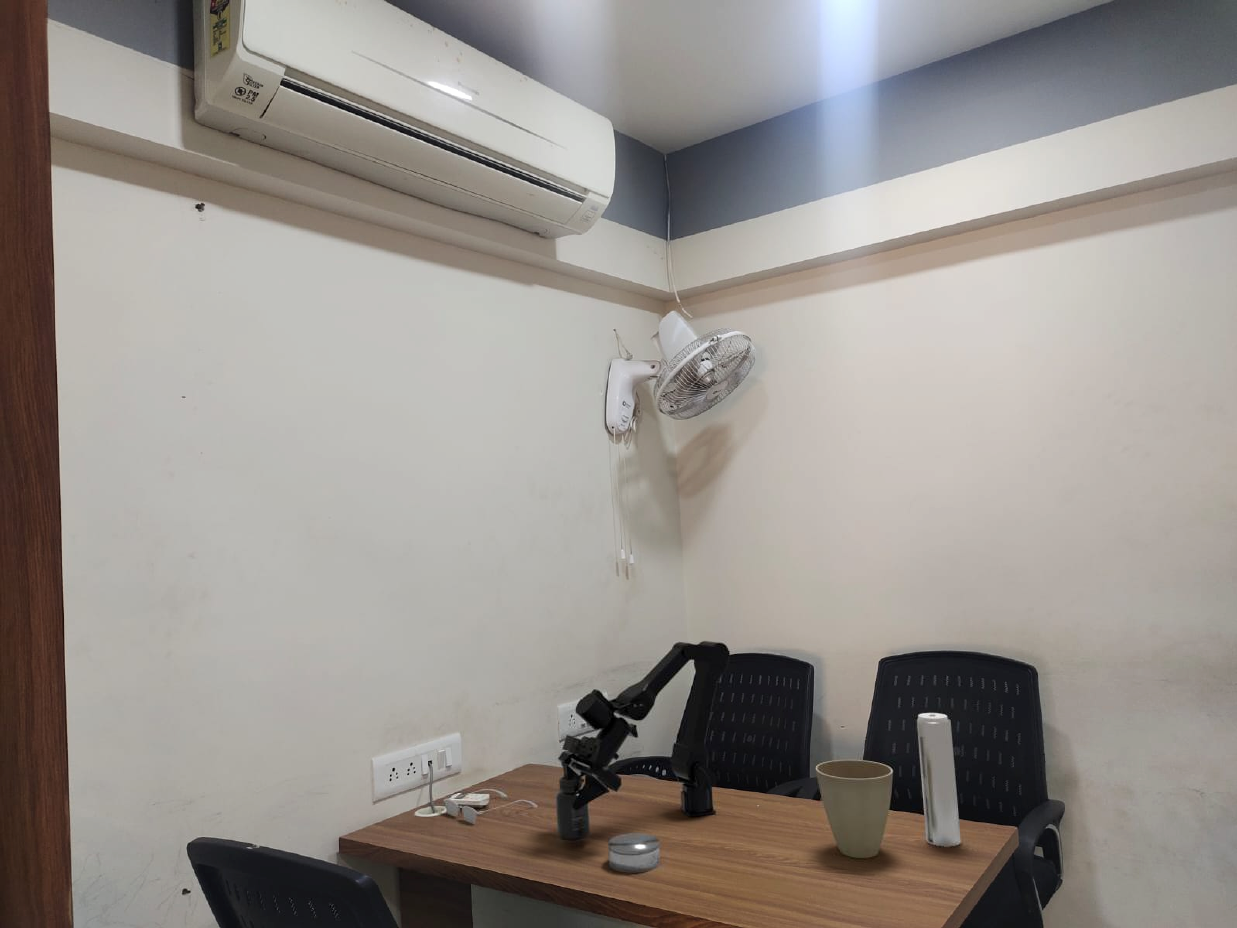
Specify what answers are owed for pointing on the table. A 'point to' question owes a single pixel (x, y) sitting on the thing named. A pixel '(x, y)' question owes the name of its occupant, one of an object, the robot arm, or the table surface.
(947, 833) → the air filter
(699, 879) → the table surface
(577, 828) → the supplement bottle
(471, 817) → the eyeglasses
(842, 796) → the plant pot
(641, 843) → the grey short cylinder
